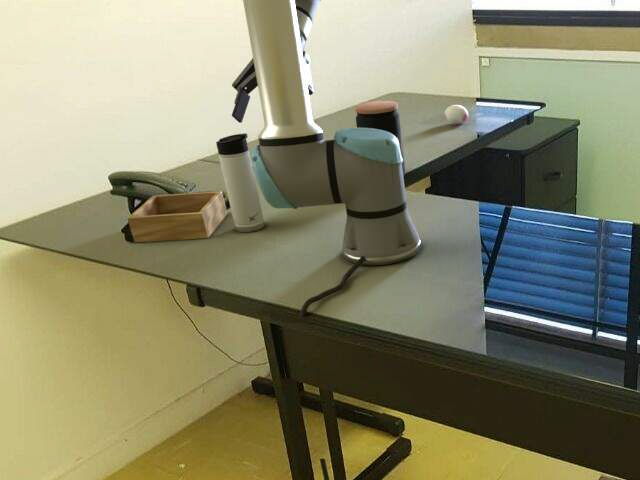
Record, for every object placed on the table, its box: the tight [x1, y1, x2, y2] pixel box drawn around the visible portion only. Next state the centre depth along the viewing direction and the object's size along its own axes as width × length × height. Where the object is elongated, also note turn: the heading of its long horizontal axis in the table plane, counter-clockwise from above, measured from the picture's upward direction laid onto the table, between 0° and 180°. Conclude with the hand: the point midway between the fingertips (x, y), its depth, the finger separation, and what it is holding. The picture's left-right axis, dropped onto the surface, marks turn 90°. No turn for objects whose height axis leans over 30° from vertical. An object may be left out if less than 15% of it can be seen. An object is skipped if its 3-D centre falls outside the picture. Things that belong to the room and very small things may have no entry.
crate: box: [126, 190, 228, 243], centre depth 175 cm, size 16×16×6 cm
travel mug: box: [215, 133, 265, 233], centre depth 168 cm, size 6×7×20 cm
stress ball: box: [444, 104, 469, 127], centre depth 249 cm, size 8×8×7 cm
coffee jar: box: [353, 100, 407, 178], centre depth 196 cm, size 11×11×18 cm
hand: (261, 120), depth 171 cm, fingers open, 13 cm apart
